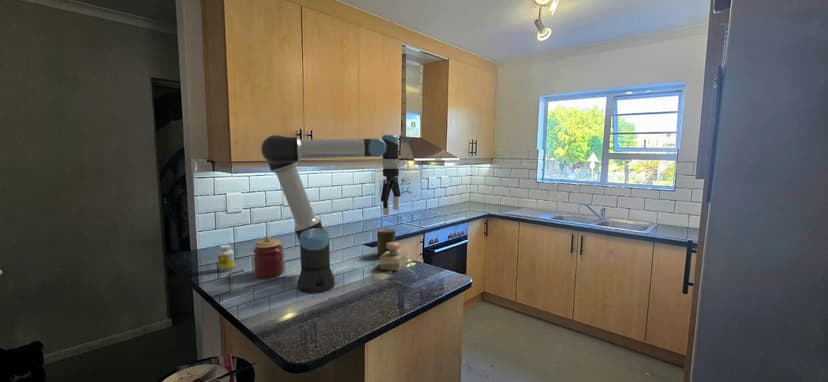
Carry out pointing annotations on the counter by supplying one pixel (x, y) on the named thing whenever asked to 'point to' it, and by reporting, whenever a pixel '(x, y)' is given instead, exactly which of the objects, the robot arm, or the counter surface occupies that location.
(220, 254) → the pill bottle
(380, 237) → the pillar candle
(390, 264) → the housing
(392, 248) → the knob
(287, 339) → the counter surface
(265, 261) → the canister
